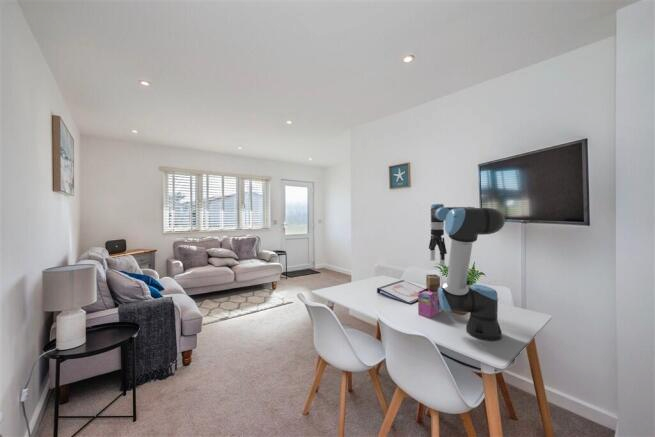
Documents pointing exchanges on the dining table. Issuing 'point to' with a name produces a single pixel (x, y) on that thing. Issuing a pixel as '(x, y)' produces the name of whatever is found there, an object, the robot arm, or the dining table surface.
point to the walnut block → (432, 282)
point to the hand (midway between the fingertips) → (437, 262)
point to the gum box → (428, 303)
